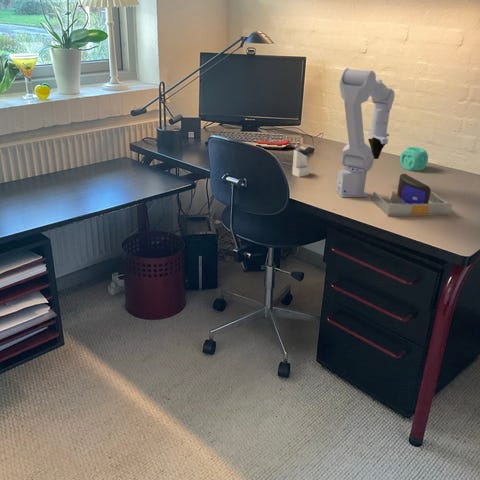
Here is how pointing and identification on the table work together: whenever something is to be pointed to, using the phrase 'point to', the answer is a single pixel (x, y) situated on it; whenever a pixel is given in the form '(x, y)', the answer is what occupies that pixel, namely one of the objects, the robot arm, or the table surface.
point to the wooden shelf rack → (413, 206)
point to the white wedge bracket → (300, 164)
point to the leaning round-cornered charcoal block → (413, 190)
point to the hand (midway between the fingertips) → (374, 158)
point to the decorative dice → (414, 158)
